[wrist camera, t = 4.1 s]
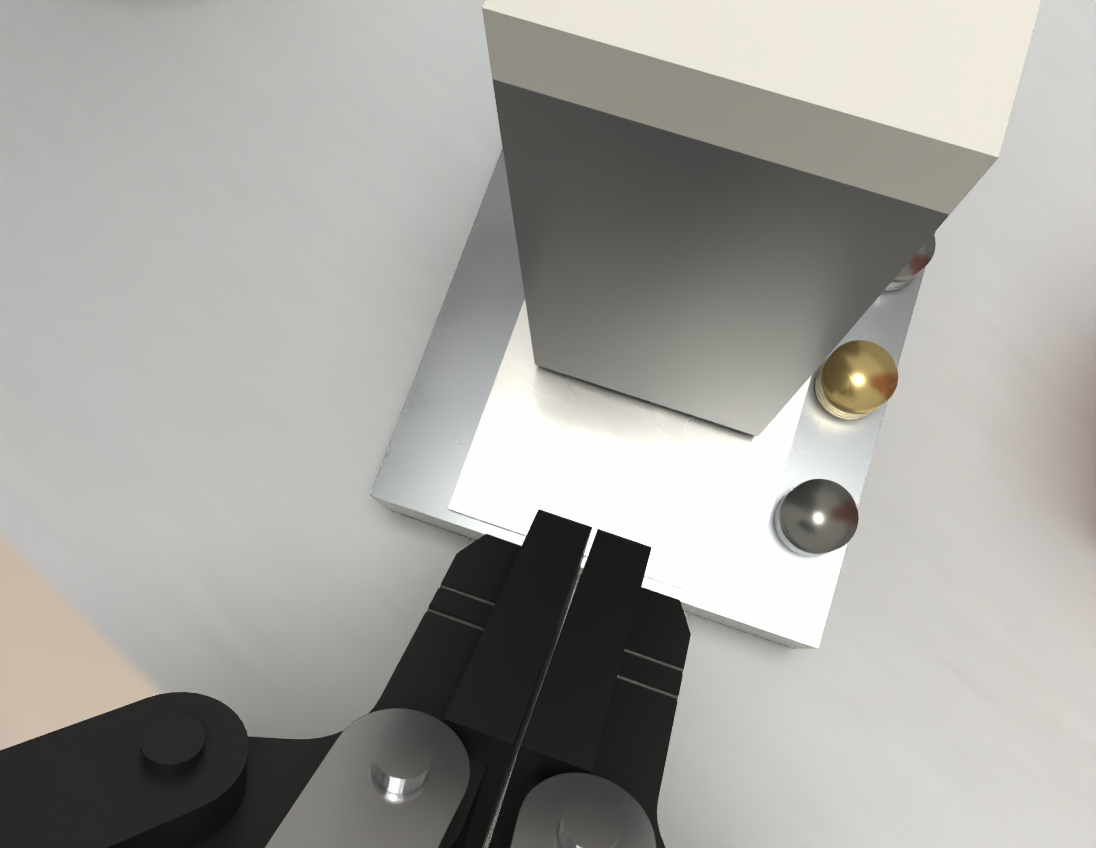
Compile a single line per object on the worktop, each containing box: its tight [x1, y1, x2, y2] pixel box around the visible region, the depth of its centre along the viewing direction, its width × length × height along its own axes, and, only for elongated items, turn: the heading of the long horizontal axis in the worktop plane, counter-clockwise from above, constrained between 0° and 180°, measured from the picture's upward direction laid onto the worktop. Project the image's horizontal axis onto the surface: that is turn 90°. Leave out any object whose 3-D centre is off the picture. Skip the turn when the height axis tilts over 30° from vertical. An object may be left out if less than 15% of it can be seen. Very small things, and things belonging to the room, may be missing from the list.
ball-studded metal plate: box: [370, 149, 935, 648], centre depth 18 cm, size 13×8×5 cm, turn 161°
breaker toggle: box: [482, 0, 1041, 437], centre depth 13 cm, size 3×4×10 cm
